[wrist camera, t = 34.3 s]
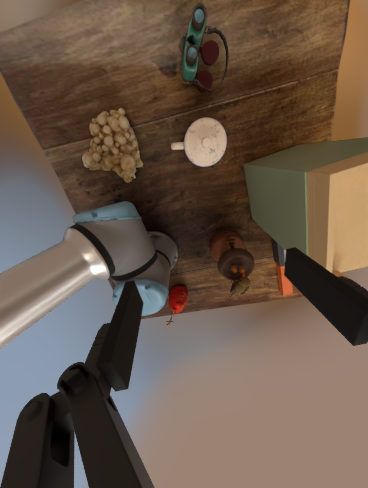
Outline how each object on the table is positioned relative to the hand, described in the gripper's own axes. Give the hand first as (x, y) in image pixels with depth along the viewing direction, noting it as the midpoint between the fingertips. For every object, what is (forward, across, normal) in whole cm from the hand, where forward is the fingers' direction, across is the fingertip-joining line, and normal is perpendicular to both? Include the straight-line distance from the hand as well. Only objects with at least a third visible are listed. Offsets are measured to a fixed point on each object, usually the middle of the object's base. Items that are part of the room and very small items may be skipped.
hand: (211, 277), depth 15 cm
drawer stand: (+36, +25, -2) cm, 44 cm away
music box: (+37, +11, -18) cm, 43 cm away
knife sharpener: (+36, +29, -30) cm, 55 cm away
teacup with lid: (+38, +6, +11) cm, 40 cm away
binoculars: (+38, +10, +26) cm, 47 cm away
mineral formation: (+40, -13, +15) cm, 44 cm away
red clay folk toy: (+39, -9, -35) cm, 53 cm away
